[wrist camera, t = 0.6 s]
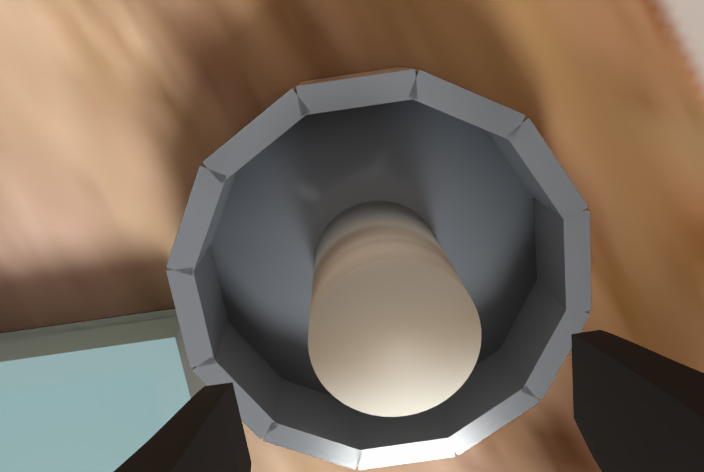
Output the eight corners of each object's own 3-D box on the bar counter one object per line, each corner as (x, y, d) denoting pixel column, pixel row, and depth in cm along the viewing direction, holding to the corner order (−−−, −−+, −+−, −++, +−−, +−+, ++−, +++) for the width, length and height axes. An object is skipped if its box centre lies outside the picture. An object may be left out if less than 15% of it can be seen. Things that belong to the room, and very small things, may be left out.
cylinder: (445, 309, 21) (487, 404, 15) (325, 326, 21) (322, 427, 15) (433, 192, 20) (475, 247, 14) (305, 210, 20) (294, 273, 14)
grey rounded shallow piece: (555, 382, 23) (593, 437, 20) (237, 426, 23) (221, 489, 20) (542, 46, 19) (587, 43, 16) (161, 101, 19) (125, 111, 16)
